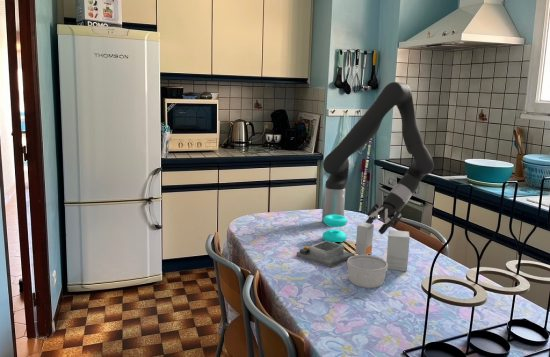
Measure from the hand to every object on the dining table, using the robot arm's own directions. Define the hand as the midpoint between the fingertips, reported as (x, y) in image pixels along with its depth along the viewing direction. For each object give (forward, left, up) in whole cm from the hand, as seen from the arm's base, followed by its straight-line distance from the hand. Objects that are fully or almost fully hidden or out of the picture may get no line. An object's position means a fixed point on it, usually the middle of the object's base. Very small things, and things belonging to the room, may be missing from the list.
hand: (372, 229), depth 178 cm
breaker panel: (-10, -16, -10) cm, 22 cm away
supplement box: (+14, -5, -10) cm, 18 cm away
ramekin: (+13, -24, -10) cm, 29 cm away
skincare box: (-1, -3, -10) cm, 10 cm away
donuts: (-19, +3, -10) cm, 22 cm away
